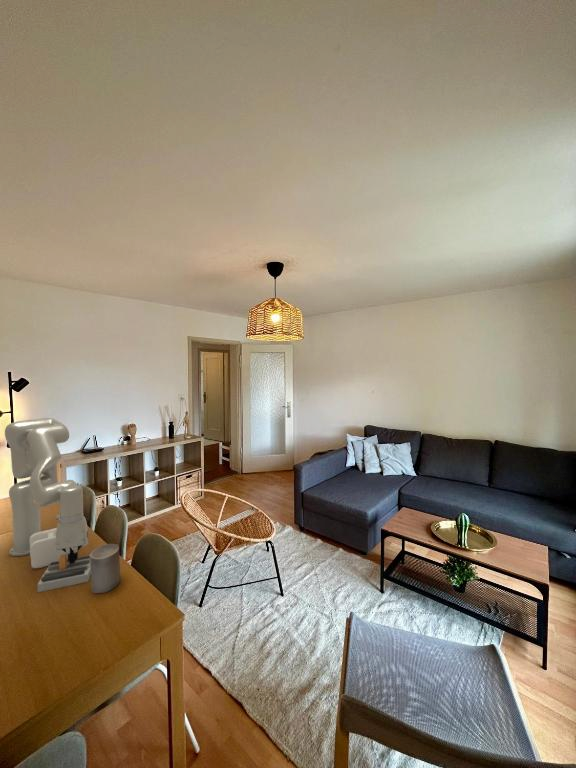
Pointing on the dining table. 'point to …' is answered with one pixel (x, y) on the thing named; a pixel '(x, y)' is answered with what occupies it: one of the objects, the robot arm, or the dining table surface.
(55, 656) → the dining table surface
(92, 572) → the pillar candle
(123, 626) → the dining table surface
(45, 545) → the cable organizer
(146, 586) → the dining table surface
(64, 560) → the lever
